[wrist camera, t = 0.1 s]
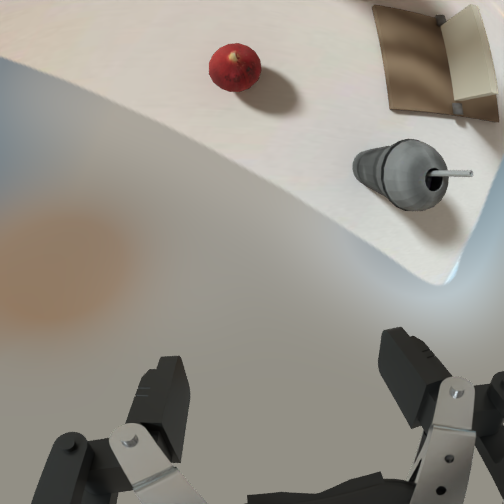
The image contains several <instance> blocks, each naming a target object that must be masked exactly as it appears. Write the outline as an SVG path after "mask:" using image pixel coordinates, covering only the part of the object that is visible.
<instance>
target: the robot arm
mask: <svg viewBox="0 0 504 504" xmlns="http://www.w3.org/2000/svg"><path fill="white" fill-rule="evenodd" d="M378 367H379V372H380V374H381V376H382V378H383V379H384V381H385V383H386V385H387V386H388V388H389V390H390V391H391V393H392V395H393V397H394V399H395V400H396V402H397V404H398V406H399V407H400V409H401V411H402V413H403V415H404V416H405V418H406V420H407V422H408V424H409V425H410V427H411V429H412V428H415V427H418V426H422V427H423V429H424V430H423V432H422V435H421V438H420V441H419V445H418V448H417V451H416V454H415V457H414V461H413V463H412V466H411V469H410V471H409V474H408V476H407V478H406V480H405V481H404V480H399V479H383V477H382V474H381V472H377V473H373V474H370V475H366V476H362V477H359V478H354V479H351V480H348V481H346V482H344V483H341V484H339V485H337V486H335V487H333V488H330V489H328V490H326V491H323V492H321V493H317V494H308V493H289V492H277V493H267V494H257V495H247V499H248V503H246V504H463V502H464V498H465V494H466V490H467V485H468V481H469V475H470V470H471V465H472V459H473V453H474V446H476V448H477V450H478V452H479V454H480V455H481V457H482V459H483V461H484V463H485V465H486V466H487V468H488V470H489V472H490V474H491V476H492V478H493V480H494V481H495V484H496V486H497V487H498V490H499V492H500V494H501V496H502V498H503V502H502V504H504V426H503V423H504V371H502V372H498V373H497V374H495V375H494V376H493V378H492V380H491V383H490V384H484V385H476V386H473V384H472V383H471V382H470V381H469V380H467V379H465V378H463V377H457V376H455V377H454V376H452V375H451V374H450V373H449V372H448V370H447V369H446V368H445V367H444V365H443V364H442V363H441V362H440V361H439V359H438V358H437V357H436V356H435V355H434V353H433V352H432V351H430V349H429V347H428V346H427V345H426V344H425V343H424V342H423V341H421V340H420V339H418V338H416V337H415V336H411V337H410V336H409V335H408V334H407V333H406V331H405V330H404V329H403V328H402V327H397V328H392V329H387V330H384V331H383V333H382V336H381V344H380V351H379V358H378ZM135 395H136V397H134V400H133V403H132V406H131V409H130V412H129V414H128V417H127V420H126V423H125V424H123V425H121V426H119V427H117V428H116V429H115V430H113V432H112V433H111V435H110V437H109V438H105V439H100V440H93V441H87V440H86V438H85V437H84V436H83V435H82V434H80V433H77V432H68V433H65V434H63V435H61V436H60V437H58V438H57V439H56V441H55V442H54V444H53V447H52V449H51V452H50V454H49V457H48V459H47V462H46V464H45V467H44V470H43V472H42V475H41V477H40V480H39V483H38V485H37V488H36V491H35V494H34V497H33V500H32V503H31V504H116V503H117V497H118V492H123V491H130V490H134V492H135V494H136V495H137V497H138V499H139V500H140V502H141V503H142V504H208V503H207V502H206V501H205V500H204V499H203V497H201V495H200V494H199V493H198V492H197V491H196V490H195V489H194V487H193V486H192V485H191V484H190V483H189V481H188V480H187V479H186V478H185V477H184V475H183V474H182V473H181V472H180V471H179V470H178V468H177V467H174V466H173V465H172V464H171V463H181V456H182V450H183V443H184V436H185V429H186V422H187V416H188V409H189V403H190V387H189V383H188V380H187V376H186V373H185V370H184V366H183V362H182V359H181V357H180V356H167V357H166V356H165V357H161V358H160V360H159V363H158V366H157V369H150V370H148V371H147V373H146V374H145V375H144V376H143V377H142V378H141V381H140V383H139V386H138V389H137V392H136V394H135Z"/></svg>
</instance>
